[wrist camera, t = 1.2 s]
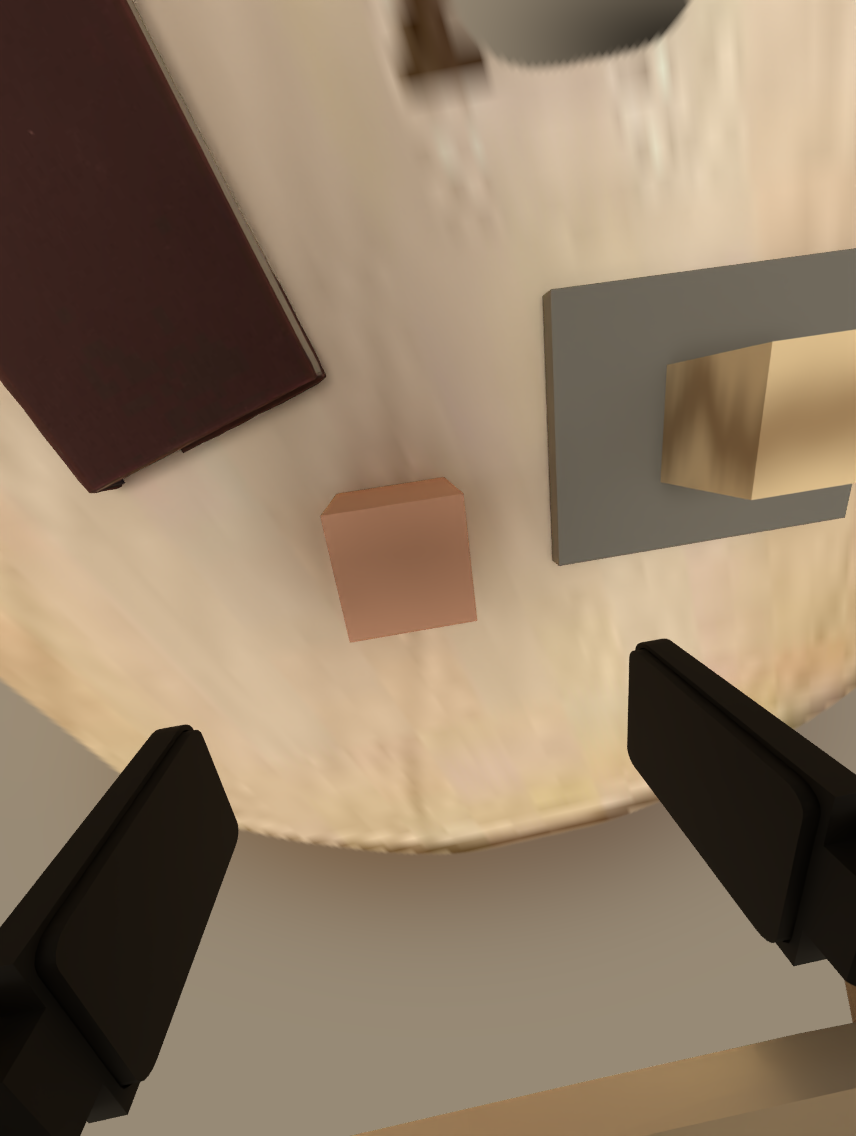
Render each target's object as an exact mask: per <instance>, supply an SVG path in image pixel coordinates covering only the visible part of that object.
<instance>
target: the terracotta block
mask: <svg viewBox="0 0 856 1136" xmlns="http://www.w3.org/2000/svg"><path fill="white" fill-rule="evenodd" d="M320 517H321V521H322V525H323V530H324V534H325V538H326V542H327V547H328V551H329V555H330V559H331V564H332V568H333V572H334V577H335V581H336V585H337V589H338V594H339V598H340V602H341V606H342V611H343V615H344V619H345V623H346V628H347V632H348V636H349V640H350V642H356V641H362V640H368V639H373V638H379V637H385V636H391V635H397V634H402V633H408V632H414V631H420V630H426V629H431V628H437V627H443V626H449V625H455V624H460V623H466V622H472V621H477V615H476V606H475V596H474V587H473V578H472V569H471V560H470V551H469V541H468V532H467V523H466V514H465V505H464V496H463V493H462V492H461V491H460V490H458V489H457V488H456V487H455V486H454V485H453V484H452V483H450V482H449V481H448V480H447V479H446V478H445V477H442V478H435V479H429V480H422V481H416V482H409V483H403V484H397V485H390V486H384V487H377V488H371V489H364V490H358V491H352V492H345V493H339V494H336V496H335V497H334V498H333V500H332V501H331V502H330V504H329V505H328V506H327V508H326V509H325V510H324V512H323V513H322V515H321V516H320Z"/></svg>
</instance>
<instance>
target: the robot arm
mask: <svg viewBox="0 0 856 1136" xmlns="http://www.w3.org/2000/svg"><path fill="white" fill-rule="evenodd" d="M627 749H628V754H629V757H630V760H631V762H632V764H633V765H634V767H635V768H636V769H637V771H638V772H639V773H640V775H641V776H642V777H643V779H644V780H645V781H646V783H647V784H648V785H649V787H650V788H651V790H652V791H653V792H654V794H655V795H656V796H657V798H658V799H659V800H660V802H661V803H662V804H663V805H664V807H665V808H666V810H667V811H668V812H669V813H670V815H671V816H672V818H673V819H674V820H675V822H676V823H677V824H678V826H679V827H680V828H681V830H682V831H683V832H684V833H685V835H686V836H687V838H688V839H689V840H690V842H691V843H692V844H693V846H694V847H695V848H696V850H697V851H698V852H699V854H700V855H701V856H702V858H703V859H704V860H705V862H706V863H707V864H708V866H709V867H710V868H711V870H712V871H713V872H714V874H715V875H716V877H717V878H718V879H719V880H720V882H721V883H722V884H723V886H724V887H725V889H726V890H727V891H728V892H729V894H730V895H731V897H732V898H733V899H734V901H735V902H736V903H737V905H738V906H739V907H740V909H741V910H742V911H743V913H744V914H745V915H746V917H747V918H748V919H749V921H750V922H751V923H752V925H753V926H754V927H755V929H756V930H757V931H758V932H759V933H760V935H761V936H762V937H764V938H765V939H766V940H767V941H769V942H771V943H774V942H776V944H777V945H778V946H779V948H780V949H781V950H782V952H783V953H784V954H785V956H786V957H787V958H788V959H789V961H790V962H791V963H792V965H793V966H797V965H801V964H806V963H810V962H814V961H819V960H824V959H827V960H828V961H829V962H830V963H831V964H832V965H833V966H834V968H835V969H836V970H837V971H838V973H839V974H840V975H841V976H842V977H843V978H844V980H845V985H846V990H847V996H848V1001H849V1006H850V1011H851V1016H852V1021H853V1023H850V1024H845V1025H841V1026H835V1027H830V1028H825V1029H820V1030H815V1031H810V1032H805V1033H799V1034H795V1035H791V1036H786V1037H782V1038H777V1039H773V1040H768V1041H764V1042H760V1043H755V1044H750V1045H746V1046H741V1047H737V1048H732V1049H728V1050H723V1051H720V1052H715V1053H710V1054H705V1055H701V1056H697V1057H692V1058H688V1059H683V1060H679V1061H674V1062H670V1063H665V1064H661V1065H656V1066H652V1067H648V1068H643V1069H639V1070H634V1071H630V1072H625V1073H621V1074H617V1075H612V1076H608V1077H603V1078H598V1079H594V1080H590V1081H586V1082H581V1083H577V1084H573V1085H568V1086H564V1087H559V1088H555V1089H550V1090H546V1091H542V1092H538V1093H533V1094H529V1095H525V1096H520V1097H516V1098H511V1099H507V1100H503V1101H498V1102H494V1103H490V1104H485V1105H481V1106H477V1107H472V1108H468V1109H464V1110H459V1111H455V1112H451V1113H446V1114H442V1115H438V1116H433V1117H429V1118H425V1119H421V1120H416V1121H412V1122H408V1123H404V1124H399V1125H395V1126H390V1127H386V1128H382V1129H378V1130H373V1131H369V1132H364V1133H360V1134H356V1135H352V1136H856V774H854V773H853V772H851V771H850V770H849V769H847V768H846V767H844V766H843V765H842V764H840V763H839V762H837V761H836V760H835V759H833V758H832V757H831V756H829V755H828V754H827V753H825V752H824V751H822V750H821V749H820V748H818V747H817V746H815V745H814V744H813V743H811V742H810V741H809V740H807V739H806V738H804V737H803V736H802V735H800V734H799V733H798V732H796V731H795V730H793V729H792V728H791V727H789V726H788V725H786V724H785V723H784V722H782V721H781V720H780V719H778V718H777V717H775V716H774V715H773V714H771V713H770V712H769V711H767V710H766V709H764V708H763V707H762V706H760V705H759V704H757V703H756V702H755V701H753V700H752V699H751V698H749V697H748V696H746V695H745V694H744V693H742V692H741V691H740V690H738V689H737V688H735V687H734V686H733V685H731V684H730V683H728V682H727V681H726V680H724V679H723V678H722V677H720V676H719V675H717V674H716V673H715V672H713V671H712V670H711V669H709V668H708V667H706V666H705V665H704V664H702V663H701V662H699V661H698V660H697V659H695V658H694V657H693V656H691V655H690V654H688V653H687V652H686V651H684V650H683V649H682V648H680V647H679V646H677V645H676V644H675V643H673V642H672V641H670V640H668V639H658V640H653V641H647V642H642V643H639V644H637V646H636V650H635V651H632V652H631V653H630V657H629V696H628V738H627ZM237 839H238V824H237V821H236V818H235V816H234V813H233V811H232V808H231V806H230V803H229V801H228V798H227V796H226V793H225V791H224V788H223V786H222V783H221V781H220V778H219V776H218V773H217V771H216V768H215V766H214V763H213V761H212V758H211V756H210V753H209V751H208V748H207V746H206V743H205V741H204V738H203V736H202V734H201V732H200V731H199V730H193V728H192V727H191V726H190V725H180V726H174V727H169V728H163V729H159V730H156V731H155V732H154V733H153V734H152V735H151V736H150V737H149V738H148V740H147V741H146V742H145V744H144V745H143V746H142V747H141V749H140V750H139V751H138V753H137V754H136V755H135V756H134V758H133V759H132V760H131V761H130V763H129V764H128V765H127V767H126V768H125V769H124V770H123V772H122V773H121V774H120V775H119V777H118V778H117V779H116V781H115V782H114V783H113V784H112V786H111V787H110V788H109V789H108V791H107V792H106V793H105V795H104V796H103V797H102V798H101V800H100V801H99V802H98V803H97V805H96V806H95V807H94V809H93V810H92V811H91V812H90V814H89V815H88V816H87V817H86V819H85V820H84V821H83V823H82V824H81V825H80V826H79V828H78V829H77V830H76V832H75V833H74V834H73V835H72V837H71V838H70V839H69V841H68V842H67V843H66V844H65V846H64V847H63V848H62V849H61V851H60V852H59V853H58V855H57V856H56V857H55V858H54V859H53V861H52V862H51V863H50V865H49V866H48V867H47V868H46V870H45V871H44V872H43V874H42V875H41V876H40V877H39V879H38V880H37V881H36V883H35V884H34V885H33V886H32V888H31V889H30V890H29V891H28V893H27V894H26V895H25V896H24V898H23V899H22V900H21V902H20V903H19V904H18V905H17V907H16V908H15V909H14V910H13V912H12V913H11V914H10V916H9V917H8V918H7V919H6V921H5V922H4V923H3V924H2V926H1V927H0V1136H80V1135H81V1132H82V1130H83V1128H84V1126H85V1123H86V1121H87V1122H88V1123H92V1122H97V1121H101V1120H106V1119H110V1118H114V1117H119V1116H124V1115H128V1112H129V1110H130V1107H131V1104H132V1102H133V1099H134V1097H135V1094H136V1091H137V1089H138V1086H139V1083H140V1082H141V1081H144V1080H145V1079H146V1078H147V1077H148V1076H149V1074H150V1072H151V1071H152V1069H153V1067H154V1065H155V1063H156V1060H157V1058H158V1055H159V1052H160V1049H161V1047H162V1044H163V1041H164V1039H165V1036H166V1033H167V1030H168V1028H169V1025H170V1022H171V1020H172V1017H173V1014H174V1012H175V1009H176V1006H177V1003H178V1000H179V998H180V995H181V993H182V990H183V987H184V984H185V982H186V979H187V976H188V973H189V970H190V968H191V965H192V963H193V960H194V957H195V954H196V952H197V949H198V946H199V944H200V941H201V938H202V935H203V933H204V930H205V927H206V925H207V922H208V919H209V916H210V913H211V911H212V908H213V906H214V903H215V900H216V897H217V895H218V892H219V889H220V886H221V884H222V881H223V878H224V875H225V873H226V870H227V868H228V865H229V862H230V859H231V857H232V854H233V851H234V848H235V846H236V843H237Z"/></svg>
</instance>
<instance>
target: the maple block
mask: <svg viewBox="0 0 856 1136" xmlns="http://www.w3.org/2000/svg"><path fill="white" fill-rule="evenodd" d="M661 482H662V483H667V484H672V485H677V486H682V487H687V488H692V489H697V490H702V491H707V492H712V493H718V494H723V495H728V496H733V497H738V498H743V499H748V500H755V499H762V498H768V497H774V496H780V495H786V494H792V493H798V492H804V491H810V490H816V489H822V488H828V487H834V486H840V485H846V484H852V483H856V329H855V330H848V331H842V332H835V333H828V334H821V335H814V336H807V337H800V338H793V339H787V340H780V341H773V342H768V343H764V344H759V345H755V346H750V347H746V348H741V349H737V350H732V351H728V352H723V353H719V354H714V355H710V356H705V357H701V358H696V359H692V360H687V361H683V362H678V363H674V364H669V365H667V374H666V392H665V410H664V428H663V446H662V464H661Z"/></svg>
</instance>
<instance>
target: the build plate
mask: <svg viewBox="0 0 856 1136" xmlns="http://www.w3.org/2000/svg"><path fill="white" fill-rule="evenodd" d="M543 311H544V338H545V366H546V393H547V420H548V447H549V474H550V502H551V529H552V556H553V561H554V562H555V563H556V564H558V565H559V566H562V565H568V564H574V563H579V562H585V561H591V560H597V559H603V558H609V557H615V556H621V555H627V554H633V553H638V552H644V551H650V550H656V549H662V548H668V547H674V546H680V545H686V544H692V543H697V542H703V541H709V540H715V539H721V538H727V537H733V536H739V535H745V534H751V533H756V532H762V531H768V530H774V529H780V528H786V527H792V526H798V525H804V524H810V523H815V522H821V521H827V520H833V519H839V518H845V514H846V510H847V505H848V500H849V496H850V491H851V486H852V484H846V485H840V486H834V487H828V488H822V489H816V490H810V491H804V492H798V493H792V494H786V495H780V496H774V497H768V498H762V499H755V500H748V499H743V498H738V497H733V496H728V495H723V494H718V493H712V492H707V491H702V490H697V489H692V488H687V487H682V486H677V485H672V484H667V483H662V482H661V464H662V446H663V428H664V410H665V392H666V374H667V365H669V364H674V363H678V362H683V361H687V360H692V359H696V358H701V357H705V356H710V355H714V354H719V353H723V352H728V351H732V350H737V349H741V348H746V347H750V346H755V345H759V344H764V343H768V342H773V341H780V340H787V339H793V338H800V337H807V336H814V335H821V334H828V333H835V332H842V331H848V330H855V329H856V248H855V249H847V250H840V251H832V252H825V253H818V254H810V255H803V256H796V257H788V258H781V259H773V260H766V261H759V262H751V263H744V264H736V265H729V266H722V267H714V268H707V269H699V270H692V271H685V272H677V273H670V274H663V275H655V276H648V277H640V278H633V279H626V280H618V281H611V282H603V283H596V284H589V285H581V286H574V287H567V288H559V289H552V290H550V291H548V292H547V293H546V294H545V295H544V296H543Z"/></svg>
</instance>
